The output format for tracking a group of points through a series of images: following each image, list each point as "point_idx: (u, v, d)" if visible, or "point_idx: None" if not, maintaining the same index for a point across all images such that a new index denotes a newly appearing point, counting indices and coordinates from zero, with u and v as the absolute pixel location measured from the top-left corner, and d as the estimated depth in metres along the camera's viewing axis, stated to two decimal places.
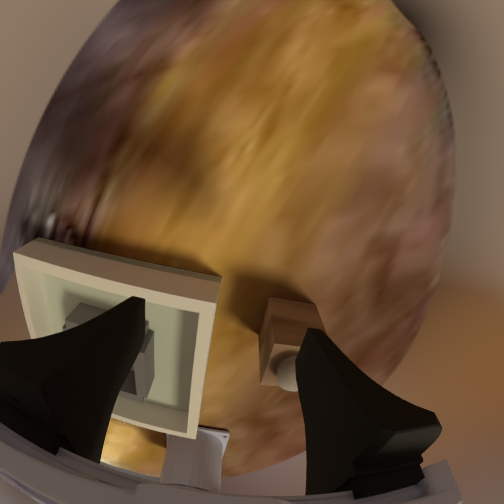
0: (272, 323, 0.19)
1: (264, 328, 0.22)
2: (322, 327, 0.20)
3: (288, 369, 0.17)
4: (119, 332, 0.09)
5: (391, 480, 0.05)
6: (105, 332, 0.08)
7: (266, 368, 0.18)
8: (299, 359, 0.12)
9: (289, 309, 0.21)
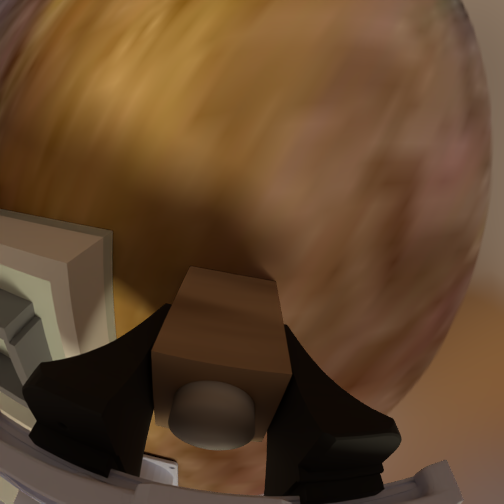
0: (171, 309, 0.09)
1: None
2: (279, 323, 0.10)
3: (184, 411, 0.07)
4: None
5: (343, 489, 0.05)
6: (149, 344, 0.08)
7: (155, 399, 0.08)
8: None
9: (221, 287, 0.11)
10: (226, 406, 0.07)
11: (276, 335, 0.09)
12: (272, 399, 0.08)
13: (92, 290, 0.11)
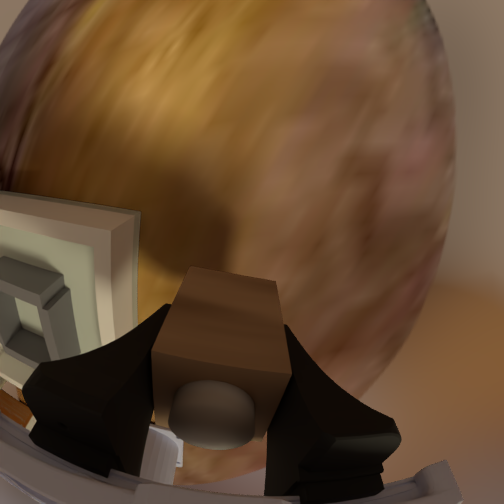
0: (171, 309, 0.09)
1: None
2: (279, 322, 0.10)
3: (184, 411, 0.07)
4: None
5: (343, 490, 0.05)
6: (149, 344, 0.08)
7: (155, 399, 0.08)
8: None
9: (220, 286, 0.11)
10: (226, 405, 0.07)
11: (276, 335, 0.09)
12: (272, 398, 0.08)
13: (124, 257, 0.14)
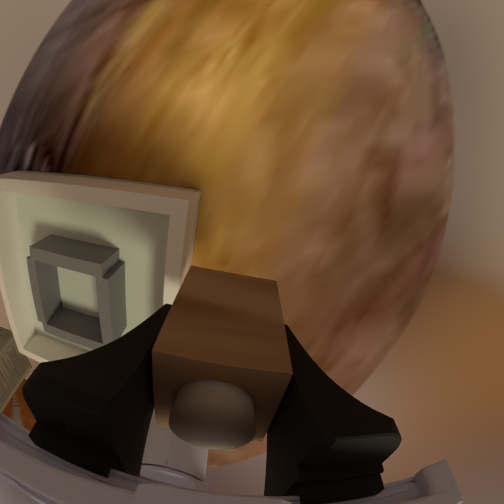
0: (171, 309, 0.09)
1: None
2: (280, 322, 0.10)
3: (184, 411, 0.07)
4: None
5: (343, 489, 0.05)
6: (149, 344, 0.08)
7: (155, 399, 0.08)
8: None
9: (221, 286, 0.11)
10: (227, 405, 0.07)
11: (277, 335, 0.09)
12: (273, 398, 0.08)
13: (190, 227, 0.17)
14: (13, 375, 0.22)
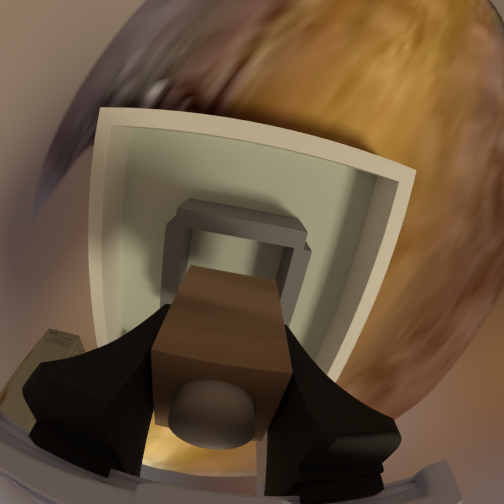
0: (171, 308, 0.09)
1: None
2: (279, 322, 0.10)
3: (184, 410, 0.07)
4: None
5: (343, 489, 0.05)
6: (149, 344, 0.08)
7: (154, 398, 0.08)
8: None
9: (221, 285, 0.11)
10: (226, 405, 0.07)
11: (276, 334, 0.09)
12: (272, 398, 0.08)
13: None
14: None
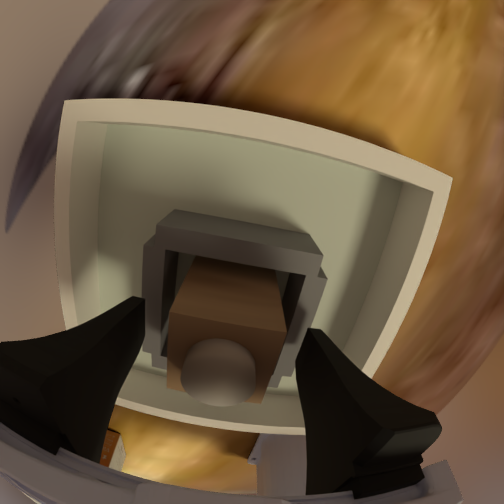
0: (184, 282, 0.11)
1: None
2: (276, 295, 0.12)
3: (195, 364, 0.09)
4: (119, 332, 0.09)
5: (391, 480, 0.05)
6: (105, 332, 0.08)
7: (168, 360, 0.10)
8: (299, 359, 0.12)
9: (226, 266, 0.13)
10: (231, 358, 0.09)
11: (274, 303, 0.11)
12: (270, 357, 0.10)
13: None
14: None
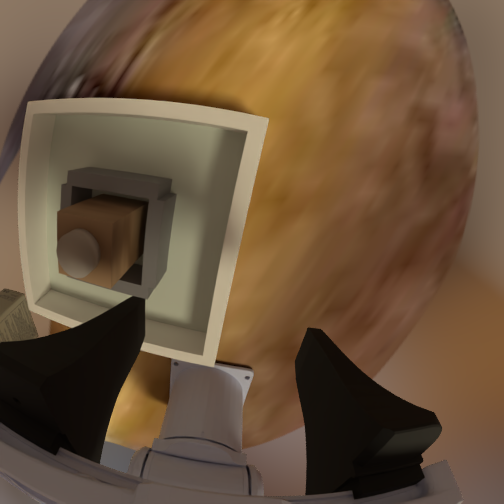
0: (77, 203, 0.15)
1: None
2: (128, 211, 0.16)
3: (62, 240, 0.13)
4: (119, 332, 0.09)
5: (391, 481, 0.05)
6: (105, 332, 0.08)
7: None
8: (299, 359, 0.12)
9: (111, 200, 0.17)
10: (78, 235, 0.13)
11: (121, 214, 0.15)
12: (107, 244, 0.14)
13: None
14: None
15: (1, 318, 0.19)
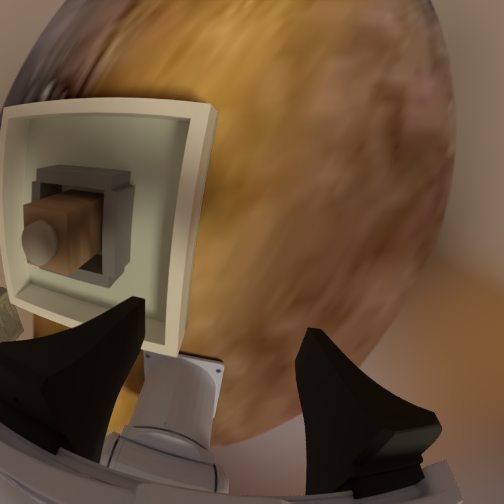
0: (43, 198, 0.15)
1: None
2: (86, 203, 0.16)
3: (25, 231, 0.12)
4: (119, 332, 0.09)
5: (391, 480, 0.05)
6: (105, 332, 0.08)
7: None
8: (299, 359, 0.12)
9: (76, 194, 0.17)
10: (38, 225, 0.13)
11: (78, 205, 0.15)
12: (63, 233, 0.14)
13: (208, 139, 0.17)
14: (2, 335, 0.21)
15: None
